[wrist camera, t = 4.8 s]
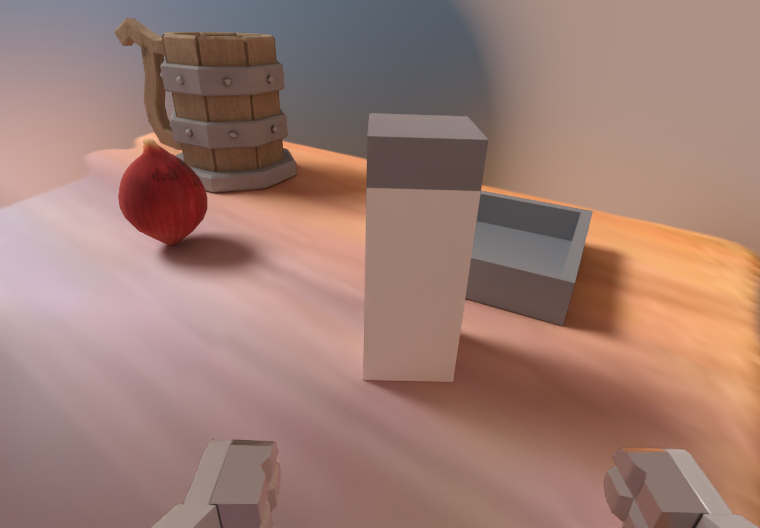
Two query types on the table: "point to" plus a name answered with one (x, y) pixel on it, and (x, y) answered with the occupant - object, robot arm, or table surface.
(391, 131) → the plug
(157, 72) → the tankard
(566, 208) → the walled box
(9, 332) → the table surface
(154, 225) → the onion
